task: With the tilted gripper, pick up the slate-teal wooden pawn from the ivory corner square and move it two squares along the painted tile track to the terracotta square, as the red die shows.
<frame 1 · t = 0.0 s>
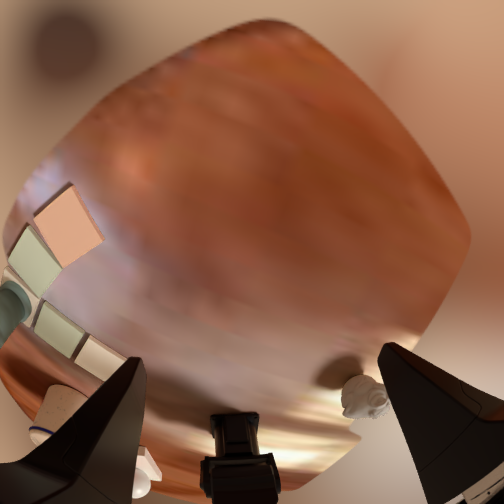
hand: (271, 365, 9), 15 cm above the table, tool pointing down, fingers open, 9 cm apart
pawn: (16, 299, 22), point 1 cm above the table, touching track
teacup with lid: (77, 406, 30), on the table
frog figurine: (354, 378, 33), on the table
track: (35, 262, 21), on the table
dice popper: (129, 458, 37), on the table
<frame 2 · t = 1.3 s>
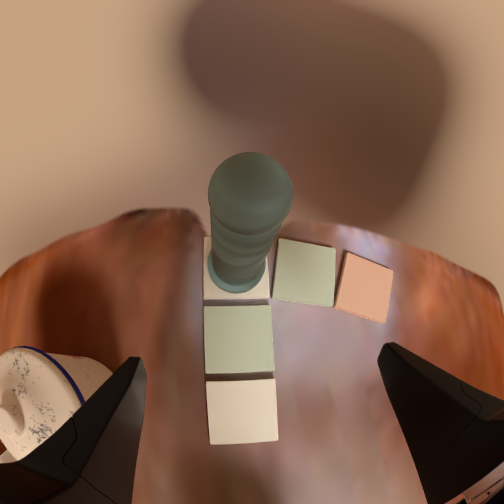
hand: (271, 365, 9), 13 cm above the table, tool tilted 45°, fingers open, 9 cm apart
pawn: (235, 266, 24), point 1 cm above the table, touching track
teacup with lid: (79, 410, 18), on the table
track: (304, 273, 25), on the table
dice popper: (25, 497, 11), on the table
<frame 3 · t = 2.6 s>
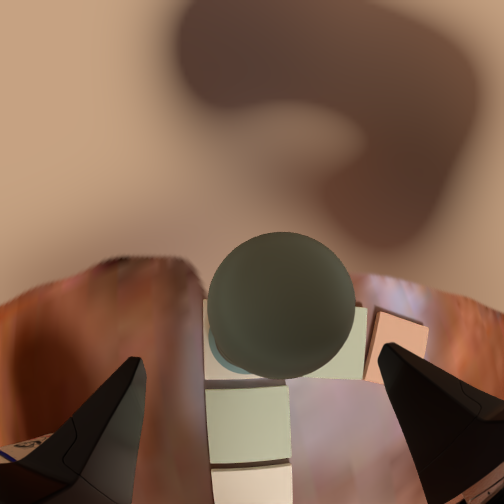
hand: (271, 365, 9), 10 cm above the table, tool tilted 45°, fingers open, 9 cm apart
pawn: (245, 338, 18), point 1 cm above the table, touching track
teacup with lid: (70, 484, 12), on the table
track: (329, 341, 19), on the table
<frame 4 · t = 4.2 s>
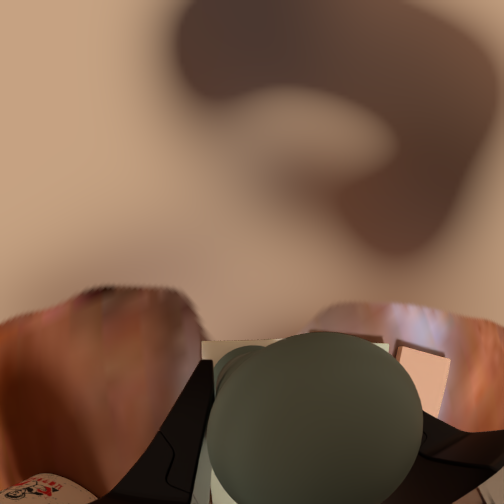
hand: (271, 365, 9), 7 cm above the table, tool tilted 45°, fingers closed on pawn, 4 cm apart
pawn: (251, 386, 15), point 1 cm above the table, touching gripper, track
track: (346, 383, 16), on the table
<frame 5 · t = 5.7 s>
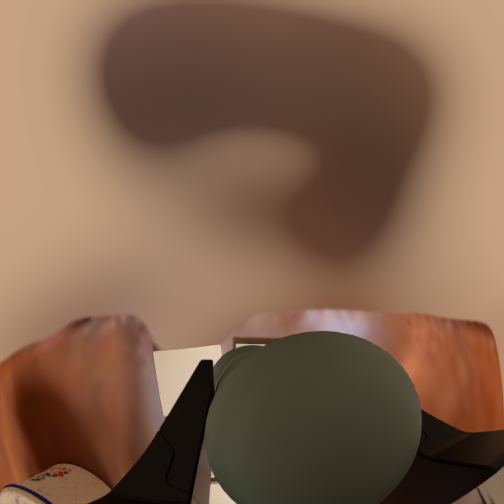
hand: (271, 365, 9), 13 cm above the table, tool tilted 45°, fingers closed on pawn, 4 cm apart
pawn: (250, 385, 15), point 7 cm above the table, touching gripper
teacup with lid: (79, 502, 13), on the table
track: (268, 376, 21), on the table
when the fingers open (9 cm above the table, at t = 7.5 s): pawn drops 1 cm, resting on track.
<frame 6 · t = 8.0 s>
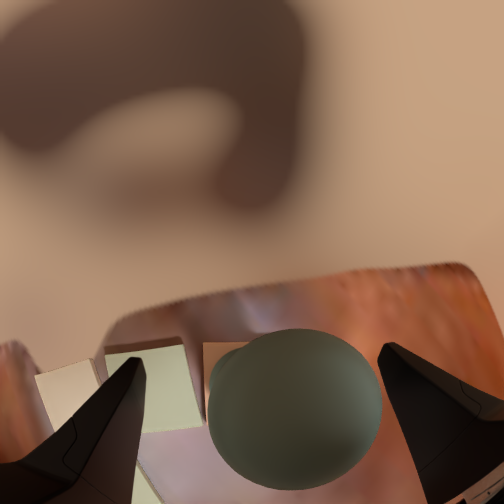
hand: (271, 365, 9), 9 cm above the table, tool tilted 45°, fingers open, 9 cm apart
pawn: (248, 384, 16), point 1 cm above the table, touching track
track: (153, 390, 15), on the table
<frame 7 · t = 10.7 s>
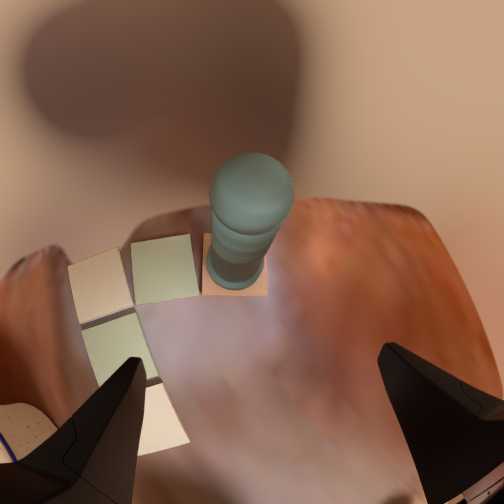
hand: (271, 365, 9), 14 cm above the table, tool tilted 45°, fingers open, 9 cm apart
pawn: (234, 263, 24), point 1 cm above the table, touching track
teacup with lid: (34, 451, 14), on the table
track: (163, 269, 23), on the table
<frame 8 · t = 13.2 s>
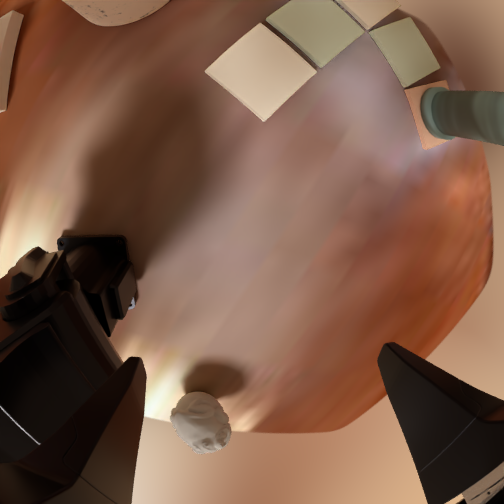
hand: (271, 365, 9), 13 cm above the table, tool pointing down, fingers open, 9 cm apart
pawn: (438, 112, 18), point 1 cm above the table, touching track
frog figurine: (200, 395, 28), on the table
track: (405, 50, 16), on the table
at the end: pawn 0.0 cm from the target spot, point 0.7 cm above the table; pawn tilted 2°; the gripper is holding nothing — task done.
